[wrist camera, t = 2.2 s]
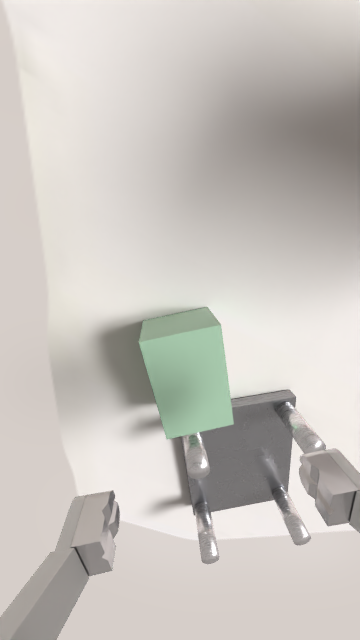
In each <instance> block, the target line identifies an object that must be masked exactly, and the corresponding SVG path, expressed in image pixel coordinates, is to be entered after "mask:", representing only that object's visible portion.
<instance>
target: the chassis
mask: <svg viewBox="0 0 360 640" xmlns="http://www.w3.org/2000/svg"><path fill="white" fill-rule="evenodd" d="M295 403H296V396H295V395H294V394H293V393H292V392H291V391H290V390H284V391H278V392H272V393H266V394H261V395H255V396H249V397H243V398H237V399H231V406H232V413H233V421H234V424H233V425H229V426H224V427H220V428H215V429H211V430H207V431H202V432H198V433H193V434H189V435H184V436H181V439H182V445H183V452H184V458H185V464H186V470H187V476H188V482H189V489H190V495H191V501H192V507H193V513H194V515H196V522H197V530H198V537H199V544H200V551H201V558H202V562H203V563H205V564H211V563H214V562H216V561H218V559H219V554H218V548H217V543H216V538H215V533H214V528H213V523H212V517H211V512H214V511H219V510H224V509H229V508H235V507H240V506H245V505H250V504H255V503H260V502H266V501H271V500H275V502H276V504H277V506H278V509H279V511H280V513H281V515H282V517H283V520H284V522H285V524H286V526H287V528H288V531H289V533H290V535H291V537H292V539H293V542H294V544H296V545H303V544H306V543H307V542H309V540H310V539H311V537H310V535H309V533H308V531H307V529H306V527H305V525H304V523H303V521H302V520H301V518H300V516H299V514H298V512H297V510H296V508H295V506H294V504H293V502H292V500H291V498H290V496H289V494H288V483H289V471H290V460H291V448H292V437H293V438H294V439H295V441H296V442H297V444H298V445H299V447H300V448H301V450H302V451H303V452H304V454H307V453H312V452H317V451H322V450H325V449H326V445H325V444H324V442H323V441H322V440H321V439H320V438H319V436H318V435H317V434H316V433H315V432H314V430H313V429H312V428H311V427H310V426H309V424H308V423H307V422H306V421H305V420H304V418H303V417H302V416H301V415H300V414H299V412H298V411H297V410H296V409H295Z"/></svg>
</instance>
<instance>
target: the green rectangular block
mask: <svg viewBox="0 0 360 640" xmlns="http://www.w3.org/2000/svg"><path fill="white" fill-rule="evenodd" d="M139 345H140V348H141V352H142V355H143V359H144V362H145V366H146V369H147V373H148V376H149V379H150V383H151V386H152V390H153V393H154V397H155V400H156V404H157V407H158V410H159V414H160V417H161V421H162V424H163V428H164V431H165V435H166V438H167V439H171V438H176V437H180V436H184V435H189V434H193V433H198V432H202V431H207V430H211V429H215V428H220V427H224V426H229V425H233V424H234V421H233V413H232V406H231V398H230V390H229V383H228V375H227V367H226V360H225V352H224V344H223V337H222V329H221V324H220V323H219V322H218V320H217V319H216V318H215V316H214V315H213V314H212V312H211V311H210V310H209V309H208V307H205V308H200V309H195V310H190V311H186V312H181V313H176V314H172V315H167V316H162V317H157V318H153V319H148V320H143V324H142V329H141V334H140V339H139Z"/></svg>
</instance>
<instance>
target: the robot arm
mask: <svg viewBox="0 0 360 640" xmlns="http://www.w3.org/2000/svg"><path fill="white" fill-rule="evenodd" d="M300 462H301V463H302V465H301V466H300V468H299V475H300V479H301V482H302V484H303V486H304V488H305V490H306V492H307V493H308V494H309V495H310V496H311V497H313V498H314V499H315V506H316V508H317V510H318V511H319V513H320V514H321V516H322V518H323V519H324V521H325V523H326V524H327V526H332V525H338V524H344V523H349V524H350V525H351V526H352V527H353V528H354V529H356V530H357V531H358V532H359V533H360V473H359V472H358V471H357V470H356V469H355V468H354V466H353V465H352V464H351V463H350V462H349V461H348V460H347V459H346V458H345V457H344V455H343V454H342V453H341V452H340V451H339V450H337V449H334V448H333V449H328V450H322V451H317V452H312V453H307V454H302V455H301V456H300ZM114 499H115V494H114V492H113V490H112V491H106V492H101V493H95V494H90V495H83V496H78V497H75V498H74V500H73V501H72V503H71V506H70V509H69V512H68V515H67V518H66V521H65V523H64V526H63V529H62V532H61V535H60V538H59V541H58V543H57V546H56V549H55V551H54V552H51V553H50V554H49V555H48V556H47V558H46V559H45V560H44V562H43V563H42V564H41V565H40V567H39V568H38V569H37V571H36V572H35V573H34V574H33V576H32V577H31V578H30V580H29V581H28V582H27V583H26V585H25V586H24V587H23V589H22V590H21V591H20V593H19V594H18V595H17V596H16V598H15V599H14V600H13V602H12V603H11V604H10V606H9V607H8V608H7V609H6V611H5V612H4V613H3V615H2V616H1V617H0V640H56V639H57V637H58V636H59V634H60V632H61V630H62V628H63V626H64V624H65V622H66V621H67V619H68V617H69V615H70V613H71V611H72V609H73V607H74V606H75V604H76V602H77V600H78V598H79V596H80V594H81V592H82V591H83V589H84V587H85V585H86V583H87V581H88V579H89V577H88V576H92V575H96V574H101V573H105V572H109V571H112V569H113V562H114V556H115V548H116V546H115V543H114V540H113V539H114V537H115V535H116V534H117V532H118V528H119V513H120V512H119V506H118V503H117V502H116V501H114Z"/></svg>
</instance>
